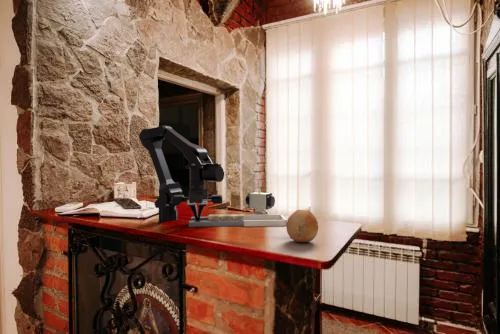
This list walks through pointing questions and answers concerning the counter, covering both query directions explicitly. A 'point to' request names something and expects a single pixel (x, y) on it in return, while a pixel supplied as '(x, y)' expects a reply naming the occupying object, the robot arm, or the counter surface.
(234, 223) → the slot rail
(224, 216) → the block
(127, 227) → the counter surface
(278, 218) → the tray
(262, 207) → the pneumatic valve
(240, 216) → the block
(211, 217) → the block
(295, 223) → the onion
